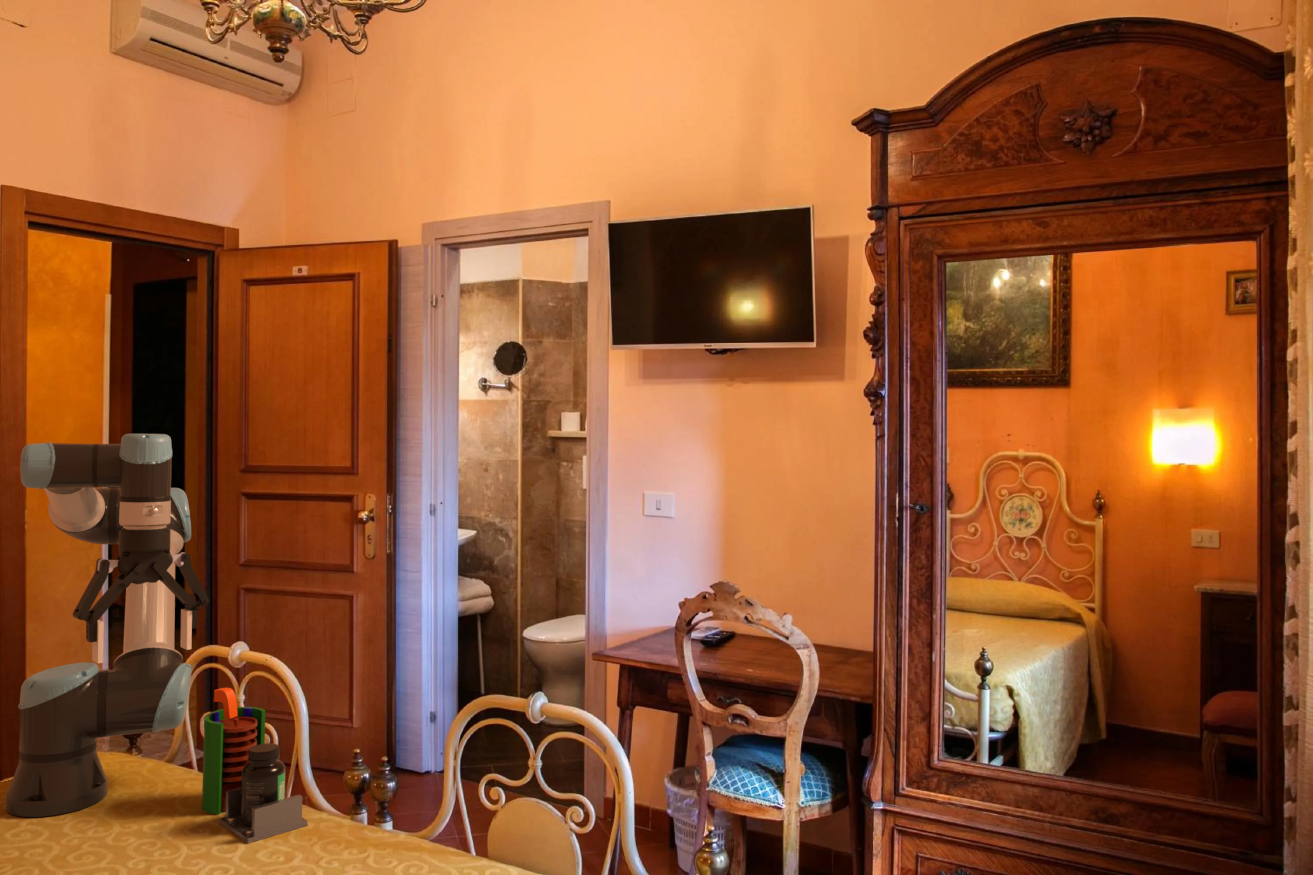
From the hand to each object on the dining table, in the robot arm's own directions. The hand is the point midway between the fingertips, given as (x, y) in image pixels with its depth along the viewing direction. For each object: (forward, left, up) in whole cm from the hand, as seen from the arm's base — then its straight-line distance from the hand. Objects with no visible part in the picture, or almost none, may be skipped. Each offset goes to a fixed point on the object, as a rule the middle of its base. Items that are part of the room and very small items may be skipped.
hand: (143, 654), depth 157 cm
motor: (0, +15, -29) cm, 32 cm away
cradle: (+13, +15, -29) cm, 35 cm away
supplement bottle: (+13, +15, -28) cm, 34 cm away
